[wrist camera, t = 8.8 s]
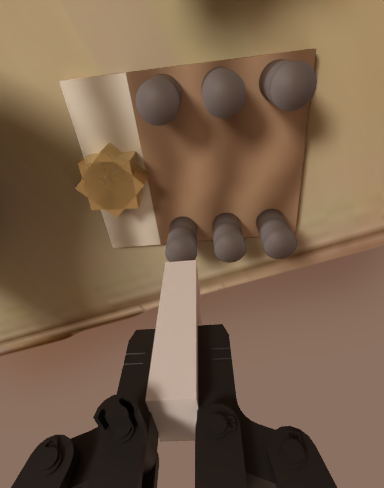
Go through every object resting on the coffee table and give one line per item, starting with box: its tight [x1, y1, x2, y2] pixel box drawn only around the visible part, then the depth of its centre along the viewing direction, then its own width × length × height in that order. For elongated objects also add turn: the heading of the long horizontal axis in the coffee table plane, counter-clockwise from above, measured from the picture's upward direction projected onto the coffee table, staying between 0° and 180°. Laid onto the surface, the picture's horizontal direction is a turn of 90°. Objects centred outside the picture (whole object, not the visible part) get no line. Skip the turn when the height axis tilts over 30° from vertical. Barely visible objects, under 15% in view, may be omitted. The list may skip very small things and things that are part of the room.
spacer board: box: [59, 49, 317, 262], centre depth 27 cm, size 22×18×6 cm
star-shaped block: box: [75, 142, 149, 218], centre depth 28 cm, size 7×7×3 cm
